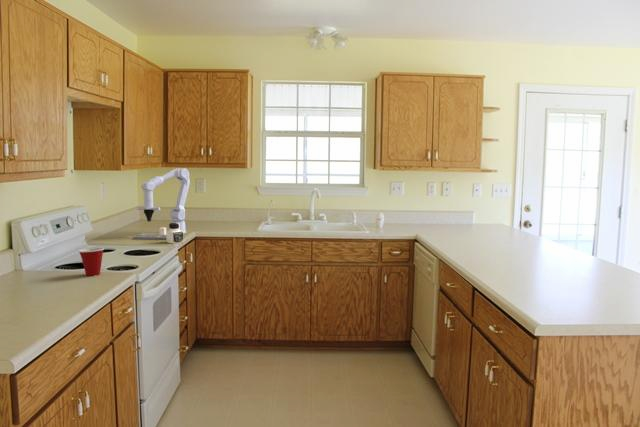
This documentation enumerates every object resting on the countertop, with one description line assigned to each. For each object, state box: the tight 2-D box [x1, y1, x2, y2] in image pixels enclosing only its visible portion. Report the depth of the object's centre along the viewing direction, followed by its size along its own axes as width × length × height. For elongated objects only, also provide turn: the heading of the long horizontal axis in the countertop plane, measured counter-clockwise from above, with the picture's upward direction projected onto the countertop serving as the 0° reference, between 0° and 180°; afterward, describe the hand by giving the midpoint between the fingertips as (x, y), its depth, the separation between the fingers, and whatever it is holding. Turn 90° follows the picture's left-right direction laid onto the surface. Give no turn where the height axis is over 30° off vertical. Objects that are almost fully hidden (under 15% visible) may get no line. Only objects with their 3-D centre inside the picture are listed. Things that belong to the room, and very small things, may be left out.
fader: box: [159, 226, 167, 235], centre depth 328 cm, size 3×3×5 cm
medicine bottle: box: [166, 222, 184, 244], centre depth 312 cm, size 7×7×12 cm
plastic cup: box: [77, 247, 105, 277], centre depth 231 cm, size 11×11×12 cm
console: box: [132, 232, 167, 241], centre depth 328 cm, size 14×22×2 cm, turn 84°
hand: (149, 221), depth 330 cm, fingers closed
